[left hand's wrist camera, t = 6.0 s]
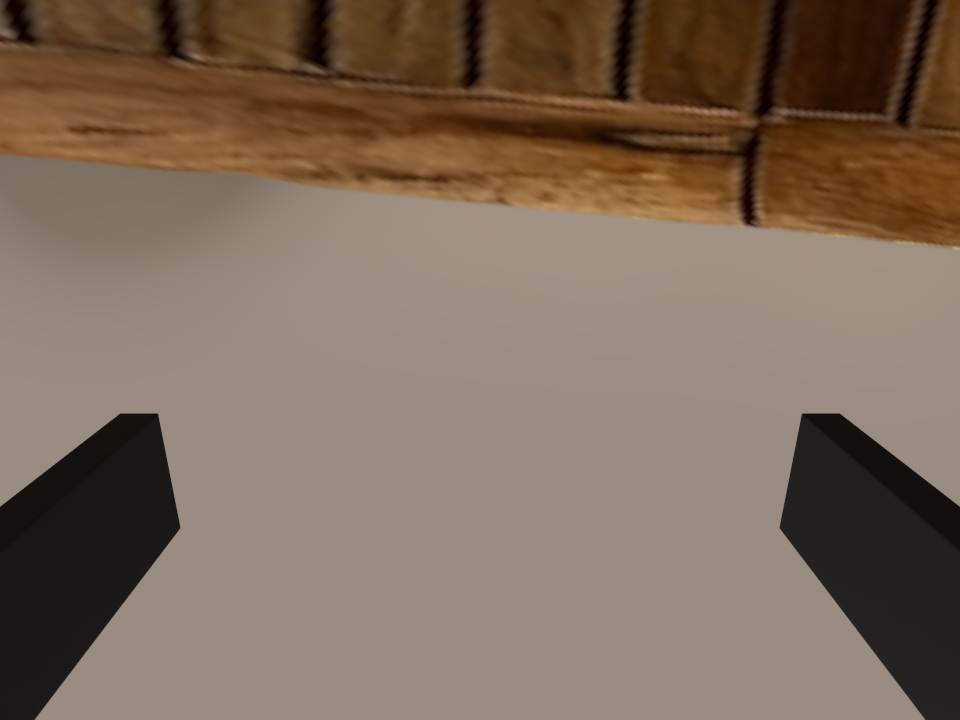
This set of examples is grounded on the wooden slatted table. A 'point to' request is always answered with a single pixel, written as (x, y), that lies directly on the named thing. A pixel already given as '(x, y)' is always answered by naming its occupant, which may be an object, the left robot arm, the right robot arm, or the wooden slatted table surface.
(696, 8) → the wooden slatted table surface
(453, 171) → the wooden slatted table surface
